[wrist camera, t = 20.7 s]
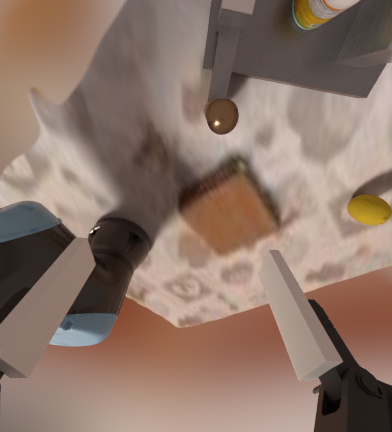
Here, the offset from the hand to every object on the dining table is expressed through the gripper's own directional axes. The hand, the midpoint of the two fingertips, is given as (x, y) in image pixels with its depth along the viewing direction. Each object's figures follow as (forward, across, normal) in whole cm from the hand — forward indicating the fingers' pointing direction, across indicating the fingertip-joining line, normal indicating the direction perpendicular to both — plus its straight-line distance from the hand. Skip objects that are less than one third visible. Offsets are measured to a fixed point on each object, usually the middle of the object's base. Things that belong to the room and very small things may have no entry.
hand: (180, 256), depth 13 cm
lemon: (+24, +37, -4) cm, 44 cm away
